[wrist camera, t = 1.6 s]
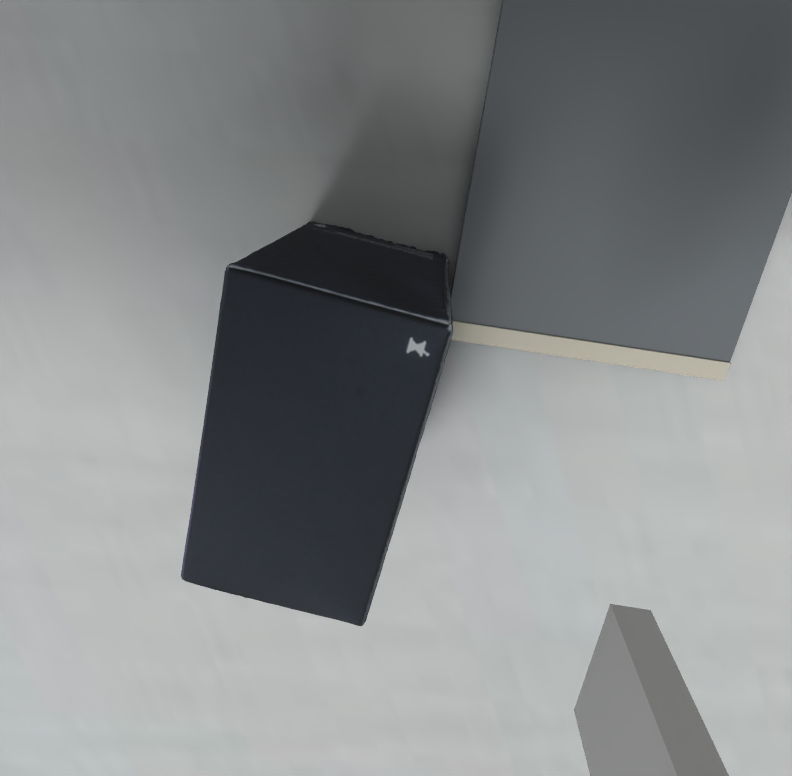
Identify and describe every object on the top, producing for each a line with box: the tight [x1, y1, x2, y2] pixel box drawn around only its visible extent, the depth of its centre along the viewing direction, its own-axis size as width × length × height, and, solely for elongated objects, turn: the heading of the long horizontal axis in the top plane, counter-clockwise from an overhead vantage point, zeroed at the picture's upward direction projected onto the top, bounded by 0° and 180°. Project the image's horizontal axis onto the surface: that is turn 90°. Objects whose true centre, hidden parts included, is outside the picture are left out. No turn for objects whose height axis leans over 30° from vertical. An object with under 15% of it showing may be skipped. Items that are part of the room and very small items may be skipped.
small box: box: [181, 222, 453, 626], centre depth 22 cm, size 11×6×10 cm, turn 166°
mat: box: [450, 0, 792, 381], centre depth 23 cm, size 12×15×1 cm
